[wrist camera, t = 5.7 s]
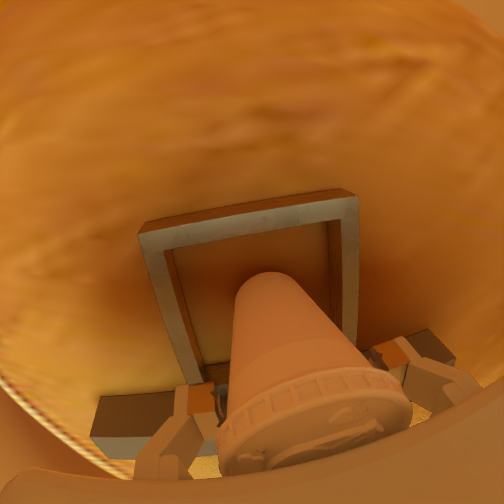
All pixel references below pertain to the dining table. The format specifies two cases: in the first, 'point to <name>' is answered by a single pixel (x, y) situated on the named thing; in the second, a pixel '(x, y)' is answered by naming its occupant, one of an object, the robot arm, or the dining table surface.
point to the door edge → (162, 407)
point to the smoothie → (298, 384)
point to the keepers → (244, 223)
